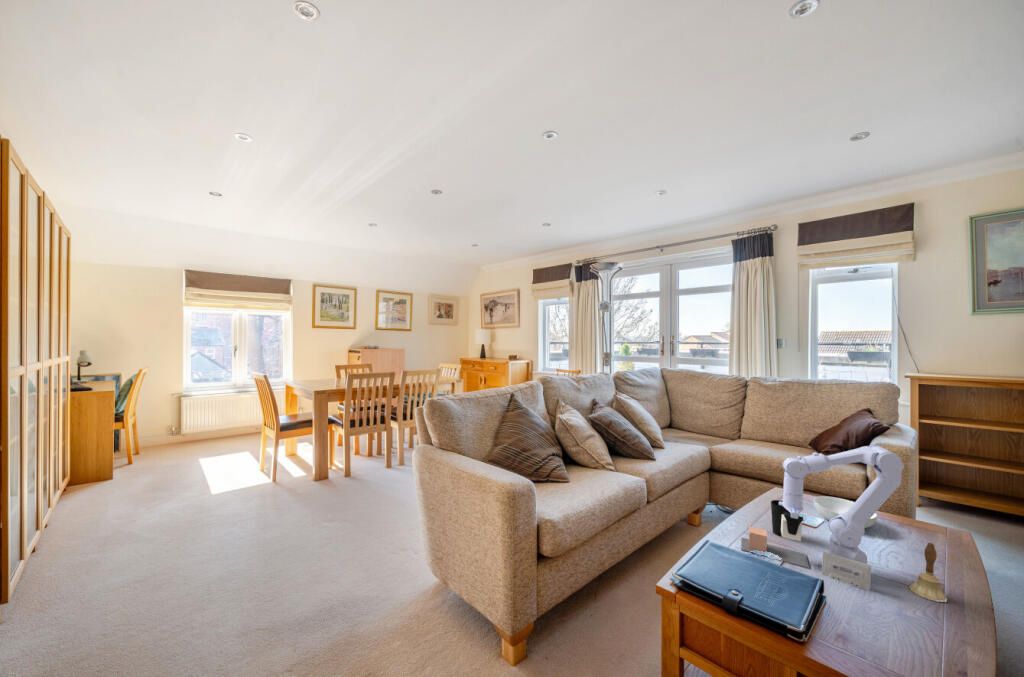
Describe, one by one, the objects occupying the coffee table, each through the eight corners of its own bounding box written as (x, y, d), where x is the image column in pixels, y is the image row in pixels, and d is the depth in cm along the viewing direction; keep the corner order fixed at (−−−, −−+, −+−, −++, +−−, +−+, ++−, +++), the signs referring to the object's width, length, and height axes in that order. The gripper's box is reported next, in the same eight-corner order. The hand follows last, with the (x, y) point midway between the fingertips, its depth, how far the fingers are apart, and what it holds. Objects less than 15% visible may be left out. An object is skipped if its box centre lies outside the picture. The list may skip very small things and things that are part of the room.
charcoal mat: (805, 554, 142) (805, 553, 142) (809, 568, 134) (809, 567, 134) (741, 538, 153) (741, 537, 152) (741, 550, 144) (741, 549, 144)
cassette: (821, 575, 131) (822, 552, 130) (821, 572, 132) (822, 550, 132) (870, 592, 123) (871, 567, 123) (870, 589, 124) (871, 565, 124)
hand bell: (953, 606, 117) (956, 553, 117) (915, 596, 121) (918, 545, 121) (940, 591, 124) (943, 541, 124) (904, 582, 128) (907, 533, 128)
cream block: (799, 534, 141) (799, 518, 141) (800, 541, 137) (801, 524, 137) (780, 530, 144) (781, 514, 144) (782, 536, 139) (782, 520, 139)
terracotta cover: (765, 546, 147) (766, 530, 146) (766, 553, 142) (767, 536, 142) (748, 541, 149) (749, 526, 149) (748, 548, 145) (749, 532, 145)
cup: (797, 539, 153) (799, 508, 153) (777, 538, 153) (779, 508, 153) (784, 529, 161) (785, 500, 161) (765, 528, 161) (766, 499, 161)
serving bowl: (826, 529, 162) (826, 512, 162) (804, 508, 182) (805, 493, 182) (888, 539, 156) (889, 521, 156) (859, 515, 176) (860, 500, 176)
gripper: (778, 483, 148) (776, 519, 149) (781, 497, 136) (779, 536, 136) (801, 488, 145) (799, 524, 145) (806, 502, 132) (804, 542, 133)
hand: (791, 530), depth 140 cm, fingers closed on cream block, 5 cm apart
